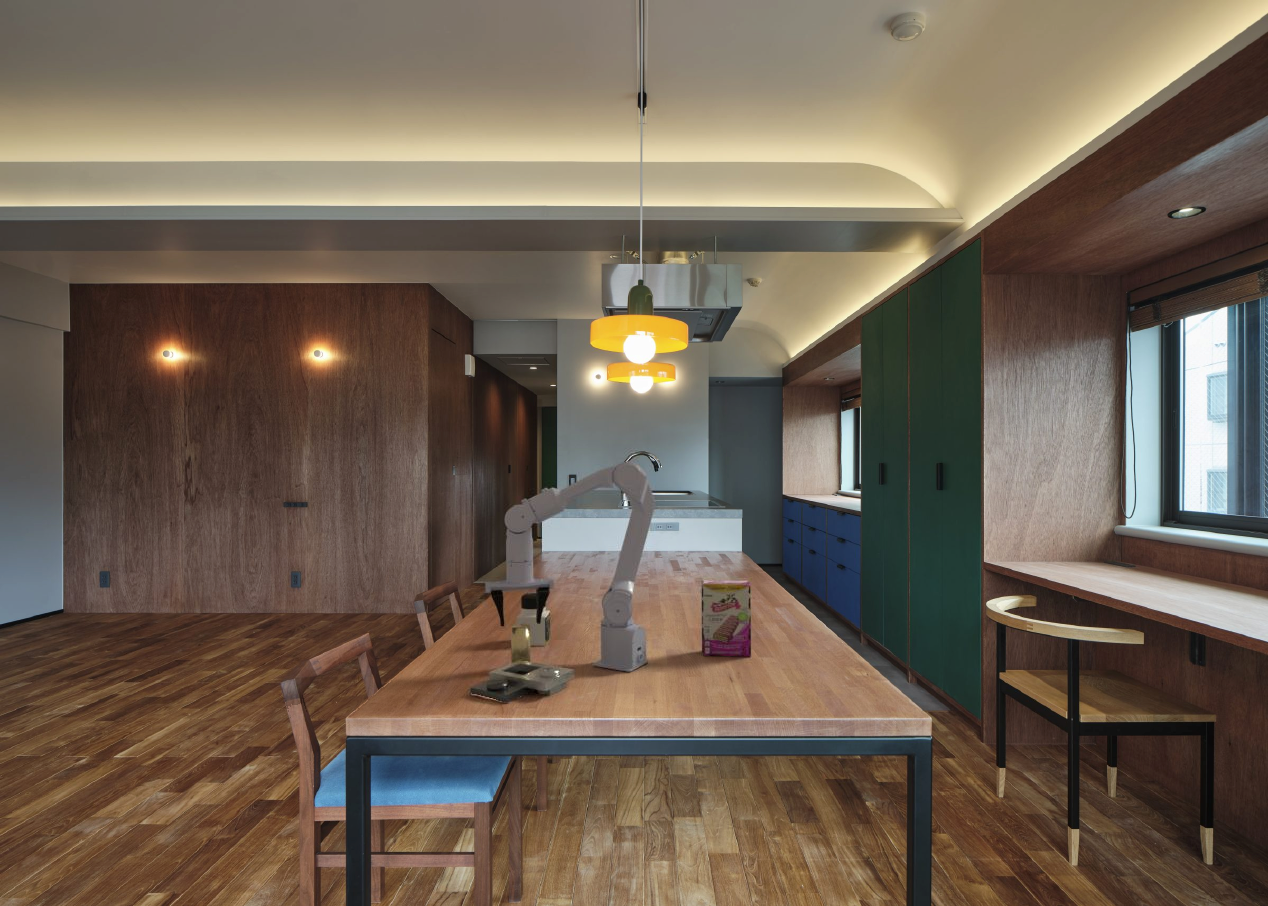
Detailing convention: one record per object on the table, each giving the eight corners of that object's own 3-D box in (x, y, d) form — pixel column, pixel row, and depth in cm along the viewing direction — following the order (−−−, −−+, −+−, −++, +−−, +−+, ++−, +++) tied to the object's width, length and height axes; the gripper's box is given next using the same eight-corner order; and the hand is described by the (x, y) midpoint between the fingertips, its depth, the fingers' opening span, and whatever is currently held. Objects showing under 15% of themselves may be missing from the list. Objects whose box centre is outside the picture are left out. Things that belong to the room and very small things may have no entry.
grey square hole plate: (489, 687, 126) (488, 668, 126) (519, 674, 134) (519, 656, 134) (545, 699, 119) (545, 678, 119) (574, 684, 126) (573, 665, 127)
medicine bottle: (546, 646, 155) (545, 596, 155) (516, 646, 155) (516, 596, 156) (550, 638, 162) (550, 590, 163) (522, 638, 162) (521, 591, 163)
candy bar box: (702, 656, 144) (700, 583, 145) (701, 650, 149) (700, 579, 149) (752, 657, 143) (750, 583, 143) (750, 651, 148) (749, 579, 148)
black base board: (519, 674, 134) (519, 663, 134) (553, 681, 129) (553, 669, 129) (470, 695, 121) (470, 683, 122) (506, 703, 117) (506, 690, 117)
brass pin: (534, 667, 139) (533, 625, 139) (522, 672, 135) (521, 629, 135) (520, 664, 141) (519, 623, 141) (507, 669, 137) (507, 627, 137)
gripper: (551, 556, 144) (551, 617, 144) (484, 559, 141) (485, 622, 140) (555, 560, 137) (556, 624, 137) (485, 564, 134) (486, 629, 133)
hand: (520, 624), depth 138 cm, fingers open, 7 cm apart
